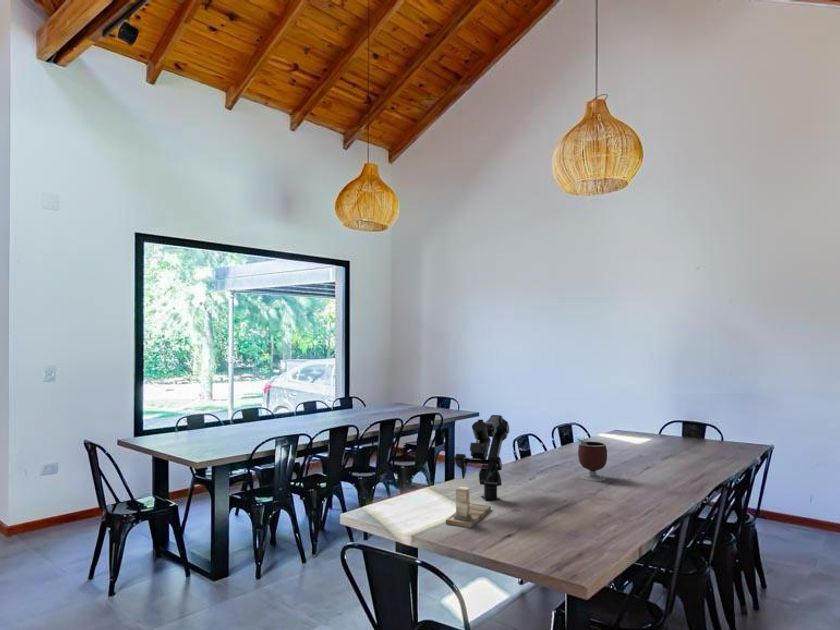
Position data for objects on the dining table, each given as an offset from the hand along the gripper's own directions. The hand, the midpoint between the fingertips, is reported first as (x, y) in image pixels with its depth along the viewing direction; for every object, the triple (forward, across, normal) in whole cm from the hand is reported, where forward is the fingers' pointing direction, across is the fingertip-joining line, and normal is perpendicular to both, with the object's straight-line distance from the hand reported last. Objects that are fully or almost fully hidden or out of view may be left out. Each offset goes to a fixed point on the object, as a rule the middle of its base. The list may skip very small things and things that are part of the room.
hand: (474, 479), depth 223 cm
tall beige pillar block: (+14, -2, +4) cm, 15 cm away
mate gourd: (-50, +38, +62) cm, 89 cm away
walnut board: (+10, -2, +10) cm, 15 cm away
